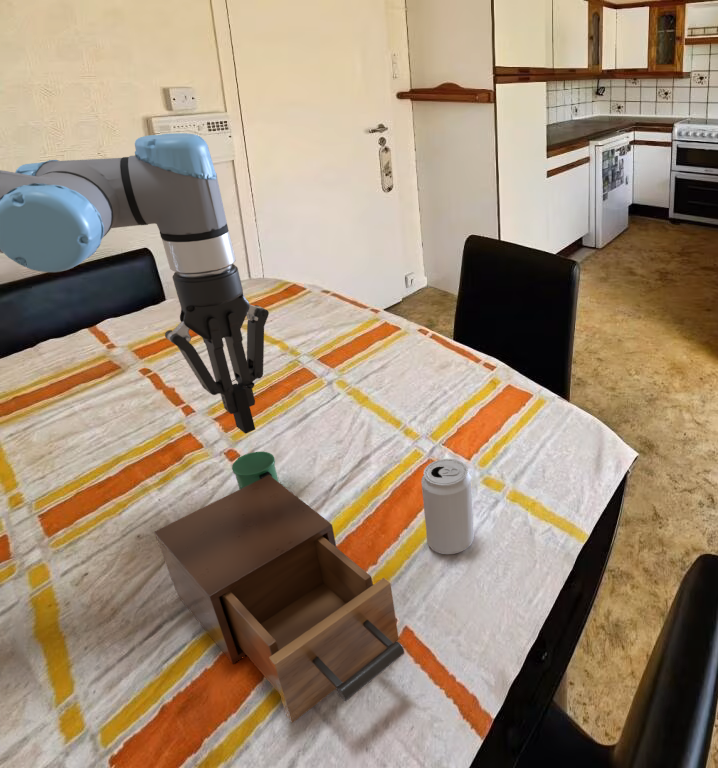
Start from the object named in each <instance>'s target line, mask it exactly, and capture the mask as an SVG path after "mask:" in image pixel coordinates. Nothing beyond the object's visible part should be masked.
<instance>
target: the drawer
mask: <svg viewBox="0 0 718 768" xmlns="http://www.w3.org/2000/svg"><path fill="white" fill-rule="evenodd" d="M336 547H337V546H336ZM336 547H335V546H334V545H333V544H331V543H330V542H329V541H328V540H327V539H325V538H324V537H323V536H321V537H319V538H317V539H316V540H314V541H312V542H311V543H309V544H307V545H306V546H304V547H302V548H301V549H299V550H297V551H296V552H294V553H292V554H291V555H289V556H287V557H286V558H284V559H282V560H281V561H279V562H277V563H275V564H274V565H272V566H270V567H269V568H267V569H265V570H264V571H262V572H260V573H259V574H257V575H255V576H254V577H252V578H250V579H249V580H247V581H245V582H244V583H242V584H240V585H239V586H237V587H235V588H233V589H232V590H230V591H228V592H227V593H225V594H223V595H222V596H220V599H221V602H222V605H223V608H224V611H225V614H226V617H227V620H228V623H229V626H230V629H231V632H232V635H233V638H234V641H235V642H236V643H237V644H238V646H239V647H240V648H241V649H242V650H243V652H244V653H245V654H246V655H247V656H246V657H247V658H248V659H249V660H250V661H251V662H252V663H253V665H254V666H255V667H256V668H257V669H258V671H259V672H260V673H261V674H262V675H263V677H264V678H265V679H266V680H267V681H268V682H269V683H270V685H271V687H273V688H274V690H276V692H277V693H278V695H279V696H280V699H281V702H282V707H283V709H284V712H285V717H286V718H288V720H289V722H291V723H295V722H296V721H297V720H299V719H300V718H301V717H303V715H305V714H307V712H309V711H310V710H312V708H314V707H315V706H316V705H317V704H319V703H320V702H321V701H323V699H325V698H326V697H328V696H329V695H330V694H331V693H332V692H334V691H335V690H336V693H337V695H338V697H339V698H340V700H341V701H342V702H347V701H349V700H350V699H351V698H352V697H353V696H354V695H356V694H357V693H359V691H361V690H362V689H363V688H364V687H365V686H367V685H368V684H369V683H371V682H372V681H373V680H374V679H375V678H377V677H378V676H380V675H381V673H383V672H384V671H386V669H388V668H390V666H391V665H392V664H394V663H395V662H396V661H398V660H399V659H400V658H401V657H402V656H403V655H405V649H404V647H403V645H402V644H401V643H400V642H399V641H398V640H399V631H398V626H397V624H398V623H397V617H396V612H395V611H396V610H395V604H394V598H393V592H392V585H391V582H390V581H389V580H387V579H386V578H385V577H382V578H381V579H380V580H378V581H377V582H375V583H374V584H373V579H372V575H370V573H368V572H367V571H365V569H363V567H361V566H359V565H358V564H357V563H356V562H355V561H353V560H352V559H351V558H350V557H349V556H347V555H346V554H345V553H343V551H341V549H339V548H338V547H337V548H336Z"/></svg>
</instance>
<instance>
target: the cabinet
mask: <svg viewBox="0 0 718 768" xmlns="http://www.w3.org/2000/svg"><path fill="white" fill-rule="evenodd" d="M278 481H279V480H278ZM278 481H276V480H275V479H274V478H273V477H271V476H270V475H268V476H266V477H264V478H262V479H260V480H258V481H256V482H254V483H252V484H250V485H248V486H246V487H244V488H242V489H240V490H239V489H238V490H235V491H234V492H231V493H230V494H227V495H226V496H223V497H222V498H220V499H217V500H216V501H213V502H212V503H210V504H207V505H205V506H203V507H201V508H199V509H197V510H195V511H193V512H191V513H189V514H186V515H185V516H183V517H181V518H179V519H177V520H175V521H173V522H171V523H168V524H166V525H165V526H163V527H160V528H158V529H157V530H154V531H153V535H154V536H155V539H156V542H157V544H158V548H159V550H160V552H161V556H162V557H163V560H164V563H165V566H166V568H167V570H168V571H167V572H168V573H169V576H170V578H171V581H172V585H173V587H174V589H175V592H176V595H177V597H178V598H179V600H180V601H181V602H182V603H183V605H184V606H185V607H186V608H187V610H188V611H189V612H190V613H191V615H192V616H193V617H194V619H196V621H197V622H198V623H199V624H200V626H201V627H202V628H203V629H204V630H205V632H206V633H207V634H208V636H209V637H210V638H211V639H212V640H213V642H214V643H215V645H216V646H217V647H218V648H219V649H220V650H221V652H222V653H223V654H224V655H225V656H226V658H227V657H228V658H227V660H229V662H230V663H231V662H232V663H231V664H232V665H235V664H236V663H237V662H236V661H238V660H239V661H241V660H242V659H243V658H242V657H244V656H245V655H246V654H245V653H244V652H243V650H242V649H241V648H240V647H239V646H238V644H237V643H236V642H235V641H234V638H233V635H232V632H231V629H230V626H229V623H228V620H227V617H226V614H225V611H224V608H223V605H222V602H221V599H220V596H222V595H223V594H225V593H227V592H228V591H230V590H232V589H233V588H235V587H237V586H239V585H240V584H242V583H244V582H245V581H247V580H249V579H250V578H252V577H254V576H255V575H257V574H259V573H260V572H262V571H264V570H265V569H267V568H269V567H270V566H272V565H274V564H275V563H277V562H279V561H281V560H282V559H284V558H286V557H287V556H289V555H291V554H292V553H294V552H296V551H297V550H299V549H301V548H302V547H304V546H306V545H307V544H309V543H311V542H312V541H314V540H316V539H317V538H319V537H321V536H323V537H324V538H325V539H327V540H328V541H329V542H330V543H331V544H333V545H334V546H335V547H336V548H338V546H337V542H336V538H335V533H334V528H333V524H332V523H331V522H330V521H328V520H327V519H326V518H325V517H323V516H322V515H321V514H320V513H319V512H317V511H316V510H314V509H313V508H312V507H311V506H309V504H307V503H306V502H304V500H302V499H301V498H299V497H298V496H297V495H296V494H294V493H293V492H292V491H290V490H289V489H288V488H287V487H285V486H284V485H283V484H282V483H281V482H280V481H279V482H278ZM245 657H246V656H245ZM245 657H244V658H245ZM241 658H242V659H241ZM240 659H241V660H240ZM239 661H238V662H239ZM235 662H236V663H235ZM234 663H235V664H234Z"/></svg>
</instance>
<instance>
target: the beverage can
mask: <svg viewBox="0 0 718 768" xmlns="http://www.w3.org/2000/svg"><path fill="white" fill-rule="evenodd" d="M420 483H421V491H422V492H421V493H422V502H423V513H424V523H425V532H426V541H427V544H428V546H429V547H430V548H431V549H432V551H434V552H435V553H439V554H442V555H454V554H458V553H461V552H464V551H465V550H467V549H468V548H469V547H470V546H471V544H472V543H473V541H474V538H475V537H474V536H475V530H474V513H473V512H474V511H473V493H472V492H473V491H472V475H471V473H470V472H469V471H468V467H467V465H466V464H465V463H464V462H462V461H461V460H458V459H455V458H442V459H441V458H440V459H436V460H434V461H432V462H430V463H429V464H428V465H426V467H425V468H424V470H423V476H422V477H421V481H420Z"/></svg>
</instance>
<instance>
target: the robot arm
mask: <svg viewBox="0 0 718 768" xmlns="http://www.w3.org/2000/svg"><path fill="white" fill-rule="evenodd" d="M134 149H135V151H134V155H129V156H123V157H112V158H92V159H91V158H90V159H89V158H88V159H70V160H69V159H68V160H58V159H48V160H46V161H42V162H33V163H32V162H31V163H25V164H21V165H20V166H19V167H17V169H16V170H15V171H7V170H3V169H0V254H4V255H5V256H6V257H7V258H8V259H10V260H12V261H13V262H15V263H16V264H18V265H20V266H22V267H25V268H27V269H28V270H31V271H36V272H41V273H60V272H64V271H68V270H70V269H74V267H77V266H78V265H80V264H81V263H83V262H84V261H85V260H87V259H89V258H91V256H93V255H94V254H95V253H96V252H97V250H98V248H99V247H100V246H101V243H102V240H103V238H104V237H106V236H107V234H108V233H109V232H110V231H111V229H117V228H127V227H136V226H148V225H154V224H155V225H156V226H157V228H158V231H159V236H160V238H161V242H162V245H163V249H164V252H165V256H166V259H167V263H168V267H169V270H171V271H172V272H174V273H173V275H172V281H173V284H174V288H175V292H176V294H177V298H178V301H179V305H180V314H179V321H180V322H179V323H178V324H177V326H176V327H174V329H173V330H172V329H169V330H167V331H165V333H164V337H165V339H166V340H168V341H169V342H171V343H172V344H173V345H175V346H176V347H177V348H178V350H179V352H180V353H181V355H182V356H183V358H184V360H185V361H186V362H187V364H188V366H189V367H190V369H191V371H192V373H193V374H194V376H195V377H196V379H197V380H198V382H199V383H200V385H201V387H202V388H203V389H204V390H205V391H207V392H208V393H209V394H210V395H212V396H216V395H218V394H220V398H221V401H222V405H223V408H224V409H225V411H226V412H228V413H229V414H230V415H233V419H234V422H235V426H236V428H238V430H240V431H241V432H243V433H244V434H249V433H251V432H253V431H255V430H256V426H255V422H254V418H253V413H252V410H251V407H253V406H255V405H256V399H255V395H254V391H253V388H255V383H254V382H255V381H256V380H260V379H261V378H262V377H263V376H264V357H265V356H264V353H265V351H264V349H265V326H266V323H267V320H268V317H269V315H270V312H269V311H268V310H267V308H264V307H262V306H260V305H258V304H255V305H253V304H250V302H249V300H248V299H247V297H246V296H245V295H244V289H243V285H242V280H241V276H240V272H239V268H238V266H236V264H235V262H236V260H237V259H236V253H235V251H234V247H233V243H232V239H231V234H230V230H229V227H228V226H229V225H228V222H227V218H226V213H225V207H224V203H223V198H222V194H221V189H220V185H219V181H218V180H219V179H218V175H217V172H216V170H215V165H214V163H213V159H212V156H211V152H210V149H209V145H208V143H207V141H206V139H204V138H203V137H201V136H200V135H198V134H195V133H183V132H181V133H180V132H178V133H162V134H150V135H144V136H140V137H138V138H137V139H135V141H134ZM246 319H247V325H246V330H247V331H246V353H245V349H244V343H243V340H244V338H243V333H242V331H241V330H242V327H243V325H244V322H245V320H246ZM189 331H192V332H193V333H195V335H198V336H199V337H200V338H202V341H203V343H204V344H205V346H206V351H207V354H208V358H209V363H210V364H211V365H210V366H211V369H212V373H213V376H214V377H213V376H212V374H211V372H210V371H209V369H208V367H207V366H206V364H205V363H204V361H203V359H202V358H201V356H200V354H199V353H198V351H197V350H196V348H195V347H194V346H193V345H192V343H190V342H191V341H192V336H191V334H190V332H189ZM223 339H224V340H225V345H226V348H227V353H228V356H229V360H230V363H231V367H232V368H231V369H232V371H233V372H232V373H233V375H234V378H235V379H234V380H235V381H236V382H237V383H233V382H232V378H231V373H230V369H229V366H228V361H227V357H226V355H225V350H224V347H225V345H224V341H223Z"/></svg>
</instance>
